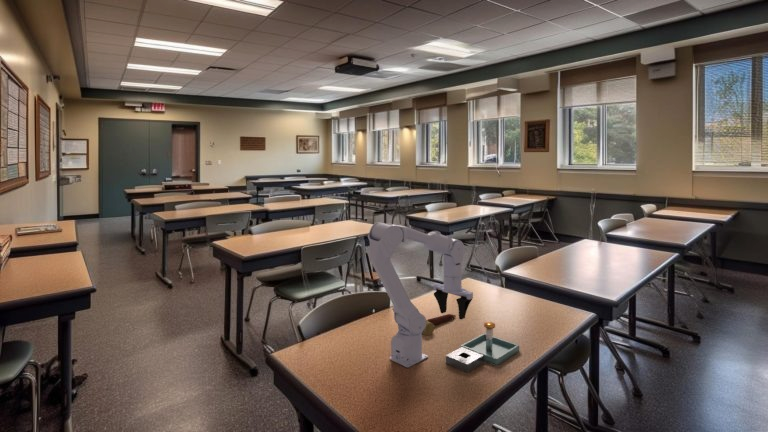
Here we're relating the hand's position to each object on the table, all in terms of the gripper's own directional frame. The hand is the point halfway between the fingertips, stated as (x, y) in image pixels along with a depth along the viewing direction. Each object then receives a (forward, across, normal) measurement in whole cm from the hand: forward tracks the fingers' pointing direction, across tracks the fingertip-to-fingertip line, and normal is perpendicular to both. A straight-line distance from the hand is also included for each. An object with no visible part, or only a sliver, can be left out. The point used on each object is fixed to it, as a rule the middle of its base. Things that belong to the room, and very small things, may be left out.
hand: (452, 315), depth 135 cm
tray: (+10, -11, -5) cm, 16 cm away
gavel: (+11, +16, -10) cm, 22 cm away
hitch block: (+10, -10, +7) cm, 16 cm away
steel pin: (+10, -11, -4) cm, 15 cm away
